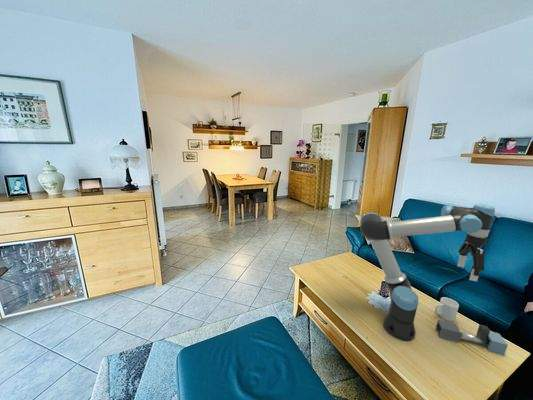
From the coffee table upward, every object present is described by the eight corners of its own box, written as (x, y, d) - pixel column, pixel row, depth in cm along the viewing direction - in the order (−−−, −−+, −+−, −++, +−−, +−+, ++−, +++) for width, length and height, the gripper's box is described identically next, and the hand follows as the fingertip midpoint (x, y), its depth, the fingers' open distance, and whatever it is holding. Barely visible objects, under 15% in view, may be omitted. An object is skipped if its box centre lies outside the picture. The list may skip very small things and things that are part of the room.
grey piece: (456, 338, 114) (460, 323, 112) (453, 333, 117) (457, 319, 115) (493, 348, 109) (498, 332, 107) (489, 342, 112) (494, 327, 110)
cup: (458, 321, 127) (462, 306, 124) (439, 322, 126) (443, 307, 124) (446, 311, 135) (450, 297, 132) (428, 311, 134) (431, 297, 132)
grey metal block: (439, 338, 116) (442, 328, 114) (435, 328, 121) (437, 319, 120) (458, 342, 113) (461, 332, 111) (453, 333, 119) (455, 323, 117)
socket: (488, 351, 109) (491, 340, 107) (480, 339, 115) (484, 329, 113) (504, 355, 107) (507, 344, 105) (495, 343, 113) (498, 333, 111)
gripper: (502, 247, 96) (489, 289, 101) (473, 227, 118) (464, 263, 124) (480, 244, 98) (469, 285, 103) (456, 225, 121) (448, 260, 126)
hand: (466, 273), depth 114 cm, fingers open, 13 cm apart
